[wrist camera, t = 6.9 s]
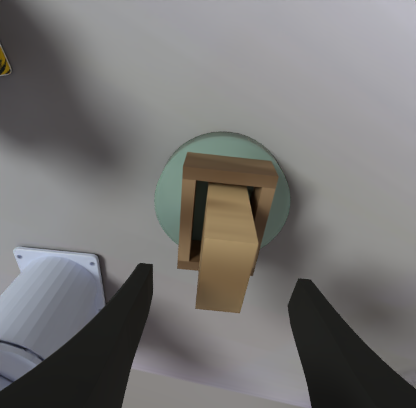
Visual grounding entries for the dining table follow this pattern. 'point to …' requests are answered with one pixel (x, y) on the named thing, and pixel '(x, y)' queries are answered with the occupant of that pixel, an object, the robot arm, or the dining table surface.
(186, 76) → the dining table surface
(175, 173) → the pale green domed part
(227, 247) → the block
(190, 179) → the brown wooden rectangular frame
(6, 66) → the medicine bottle
